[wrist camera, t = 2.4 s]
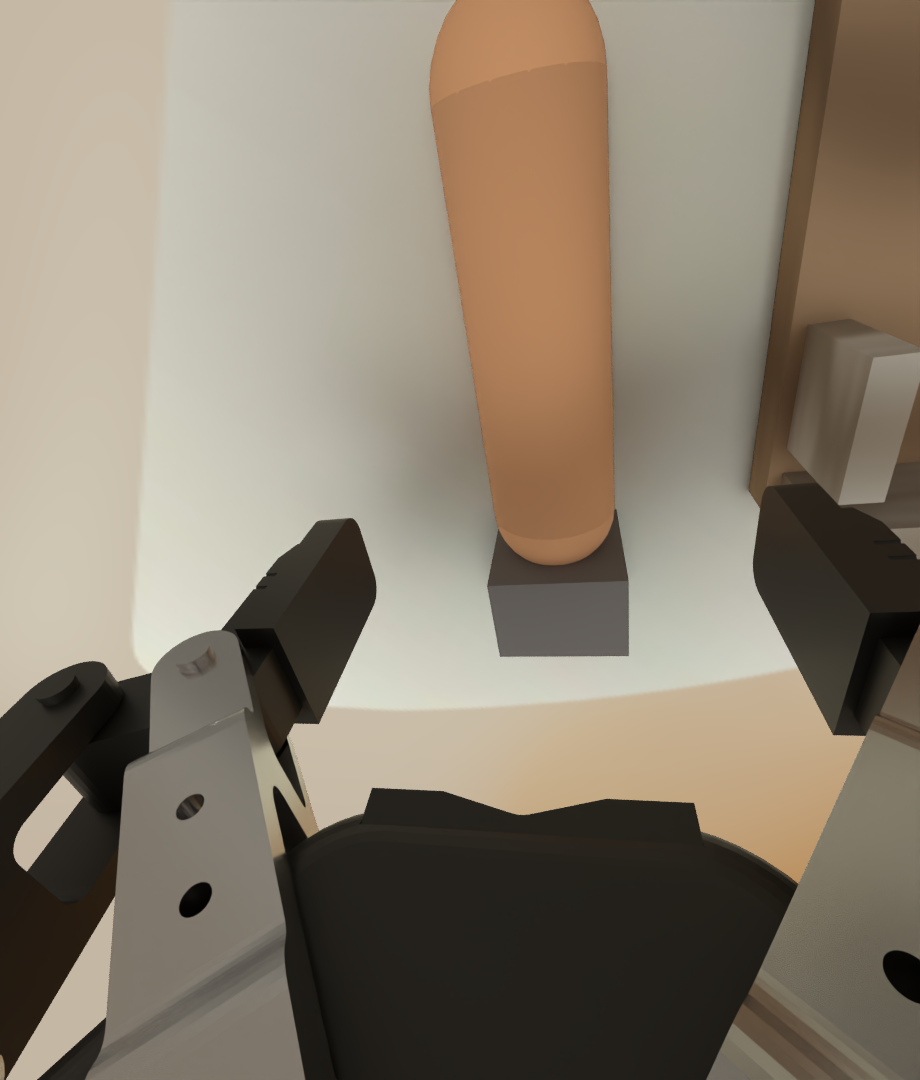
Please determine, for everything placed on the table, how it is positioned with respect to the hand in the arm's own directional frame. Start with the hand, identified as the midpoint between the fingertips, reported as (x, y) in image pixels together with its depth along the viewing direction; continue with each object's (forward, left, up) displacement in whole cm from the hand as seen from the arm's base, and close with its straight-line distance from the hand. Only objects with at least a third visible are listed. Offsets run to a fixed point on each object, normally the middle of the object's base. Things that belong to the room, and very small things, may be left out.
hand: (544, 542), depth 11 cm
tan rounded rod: (-1, 0, -9) cm, 9 cm away
